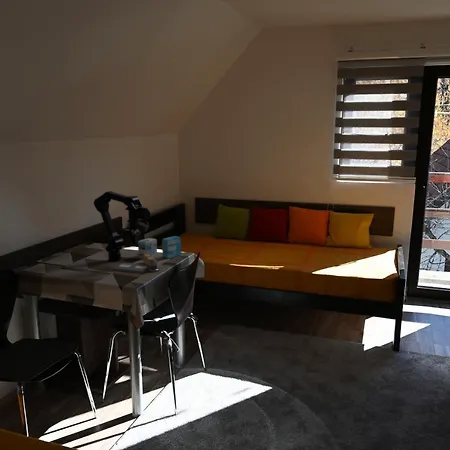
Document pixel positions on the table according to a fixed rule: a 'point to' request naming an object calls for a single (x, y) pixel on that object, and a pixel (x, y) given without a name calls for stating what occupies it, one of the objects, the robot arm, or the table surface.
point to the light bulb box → (147, 247)
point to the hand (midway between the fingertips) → (134, 244)
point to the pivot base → (153, 270)
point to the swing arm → (149, 260)
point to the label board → (132, 267)
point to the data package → (171, 247)
